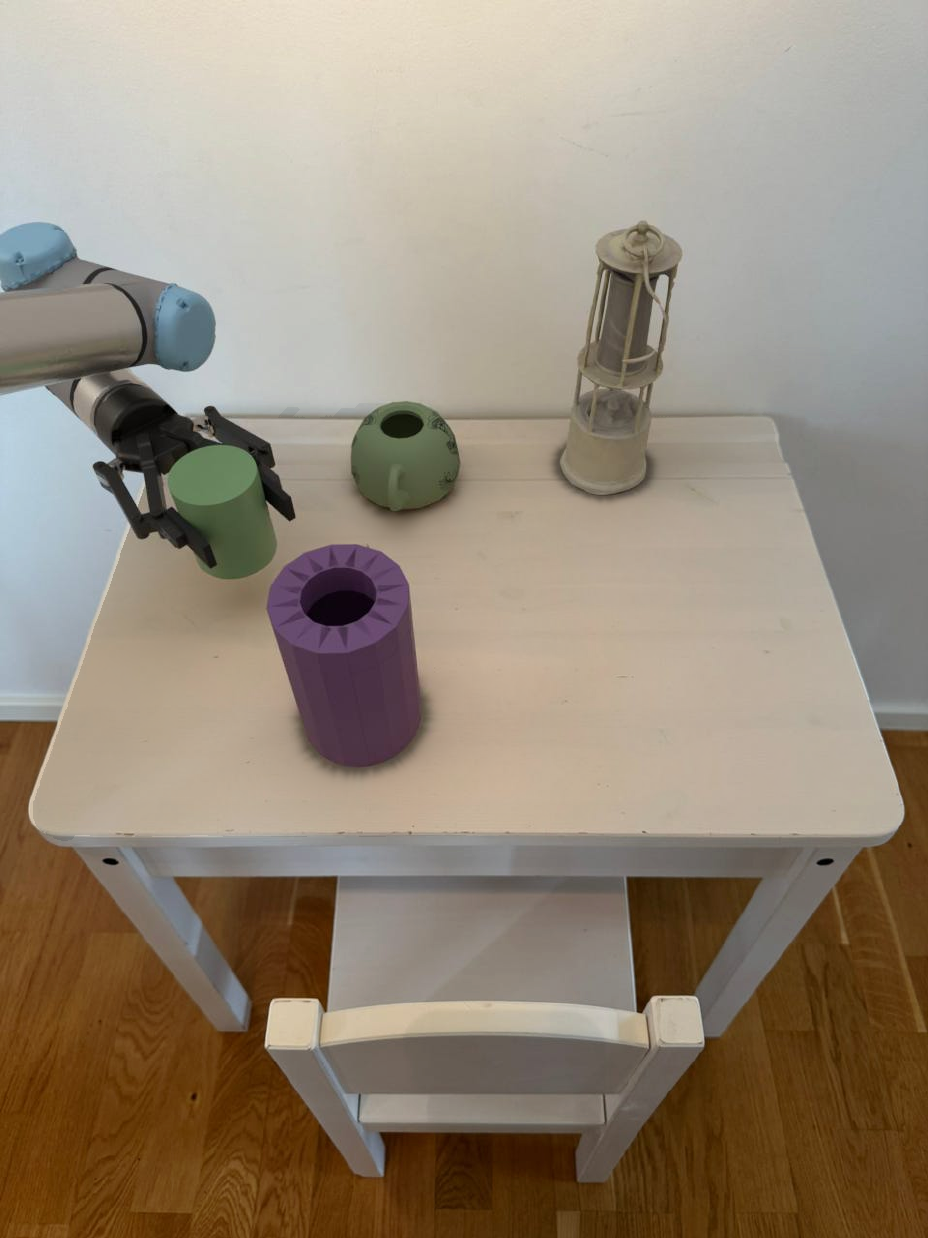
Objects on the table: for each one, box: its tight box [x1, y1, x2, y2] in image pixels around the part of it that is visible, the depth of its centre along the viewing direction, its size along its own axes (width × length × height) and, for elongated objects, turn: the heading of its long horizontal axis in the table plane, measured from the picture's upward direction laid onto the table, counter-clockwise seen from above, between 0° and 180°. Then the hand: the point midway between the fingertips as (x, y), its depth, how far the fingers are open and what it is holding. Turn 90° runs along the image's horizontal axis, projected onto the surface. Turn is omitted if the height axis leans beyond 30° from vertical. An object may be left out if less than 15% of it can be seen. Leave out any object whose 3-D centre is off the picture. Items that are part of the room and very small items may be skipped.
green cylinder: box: [167, 445, 278, 580], centre depth 82 cm, size 8×8×10 cm
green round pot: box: [350, 400, 461, 512], centre depth 98 cm, size 16×13×9 cm
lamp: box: [559, 220, 683, 496], centre depth 91 cm, size 10×13×30 cm
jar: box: [265, 543, 422, 768], centre depth 75 cm, size 11×11×18 cm
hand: (251, 532), depth 79 cm, fingers closed on green cylinder, 8 cm apart
